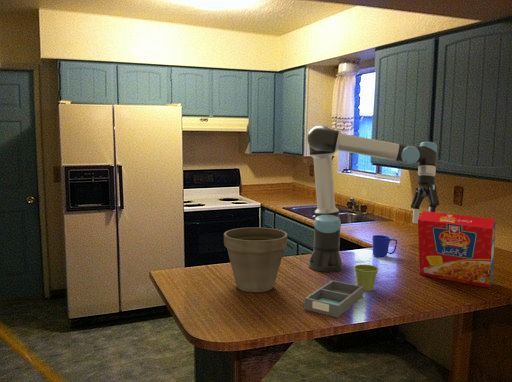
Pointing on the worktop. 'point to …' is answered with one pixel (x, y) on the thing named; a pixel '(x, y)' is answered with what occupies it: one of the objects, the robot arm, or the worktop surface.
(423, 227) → the pasta box
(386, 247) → the mug
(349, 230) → the worktop surface
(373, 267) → the plant pot
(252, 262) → the plant pot
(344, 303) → the tray
